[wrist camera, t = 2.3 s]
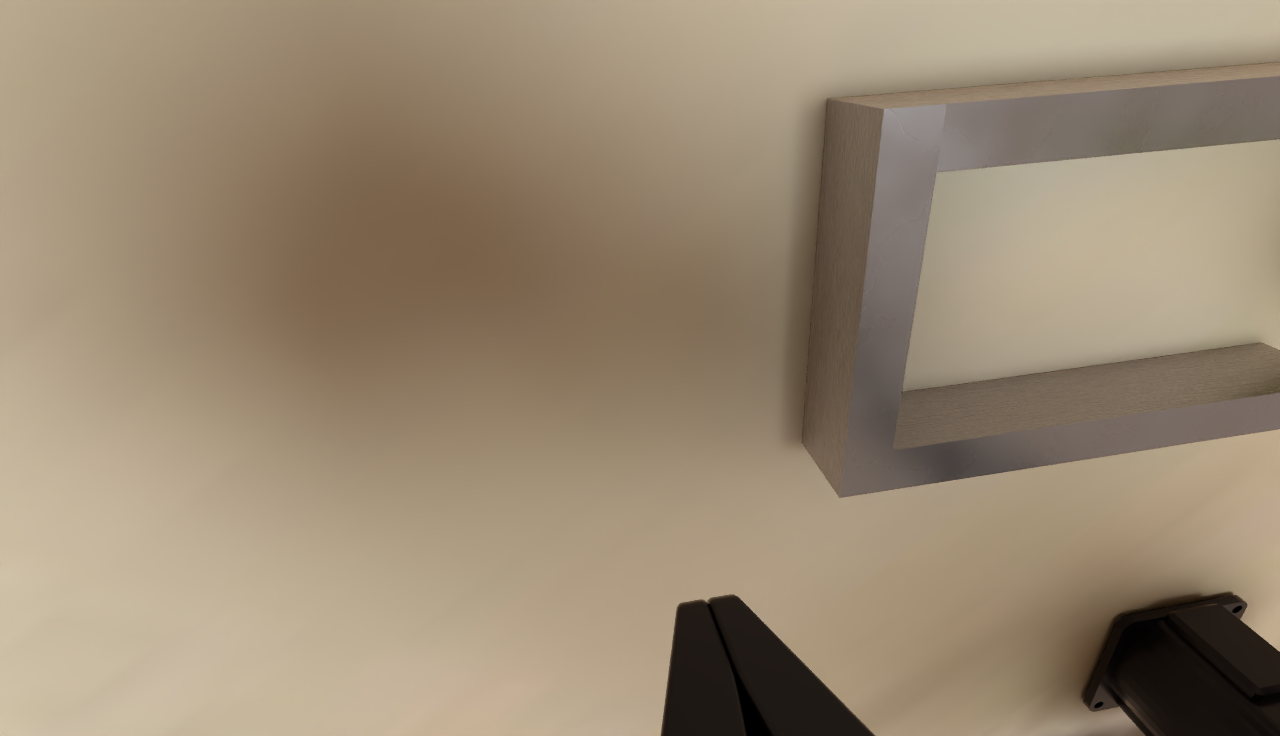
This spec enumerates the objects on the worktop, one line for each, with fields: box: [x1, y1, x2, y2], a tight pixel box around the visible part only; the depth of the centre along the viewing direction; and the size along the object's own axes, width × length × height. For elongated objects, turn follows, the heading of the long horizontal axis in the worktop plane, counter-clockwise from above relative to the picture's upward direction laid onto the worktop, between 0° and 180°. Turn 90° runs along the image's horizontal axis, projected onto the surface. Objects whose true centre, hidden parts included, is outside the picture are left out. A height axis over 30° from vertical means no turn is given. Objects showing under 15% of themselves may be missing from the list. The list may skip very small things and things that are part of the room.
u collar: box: [802, 62, 1280, 498], centre depth 19 cm, size 11×18×3 cm, turn 93°
